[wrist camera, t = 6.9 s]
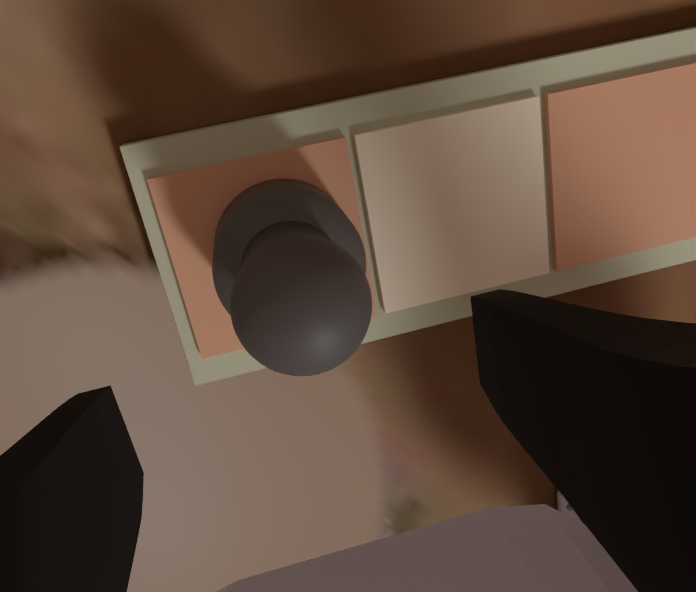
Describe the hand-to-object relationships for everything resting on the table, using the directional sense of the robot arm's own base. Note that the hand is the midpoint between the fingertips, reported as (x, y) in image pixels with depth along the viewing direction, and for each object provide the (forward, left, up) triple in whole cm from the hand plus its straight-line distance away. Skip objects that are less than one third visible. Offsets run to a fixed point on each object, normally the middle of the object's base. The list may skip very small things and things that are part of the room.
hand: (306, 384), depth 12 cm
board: (0, -10, -10) cm, 14 cm away
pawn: (0, 0, -9) cm, 9 cm away
